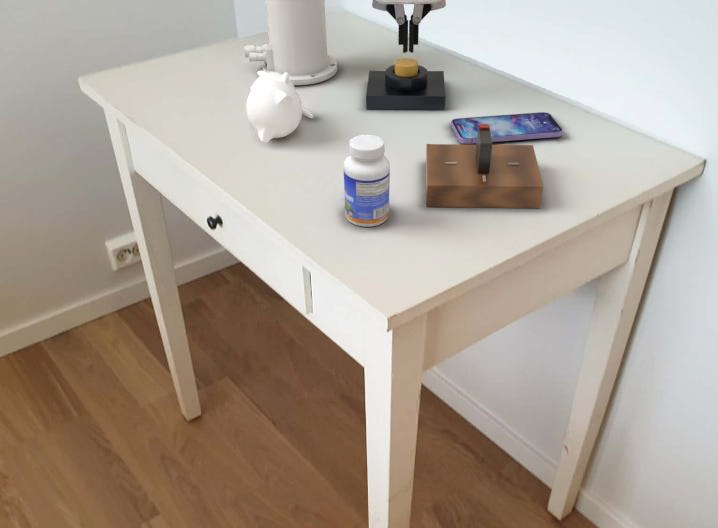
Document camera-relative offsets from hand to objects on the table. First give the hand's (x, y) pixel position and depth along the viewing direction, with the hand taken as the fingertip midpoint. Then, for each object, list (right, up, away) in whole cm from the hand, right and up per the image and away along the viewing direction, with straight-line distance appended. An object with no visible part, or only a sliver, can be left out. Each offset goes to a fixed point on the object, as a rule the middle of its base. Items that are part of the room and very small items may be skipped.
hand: (408, 49), depth 110 cm
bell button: (0, -3, +3) cm, 4 cm away
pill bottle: (-6, -30, -21) cm, 37 cm away
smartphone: (+14, -14, -5) cm, 20 cm away
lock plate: (+8, -24, -16) cm, 30 cm away
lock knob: (+8, -22, -18) cm, 30 cm away
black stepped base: (0, -5, +5) cm, 7 cm away
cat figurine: (-19, -13, -3) cm, 23 cm away
